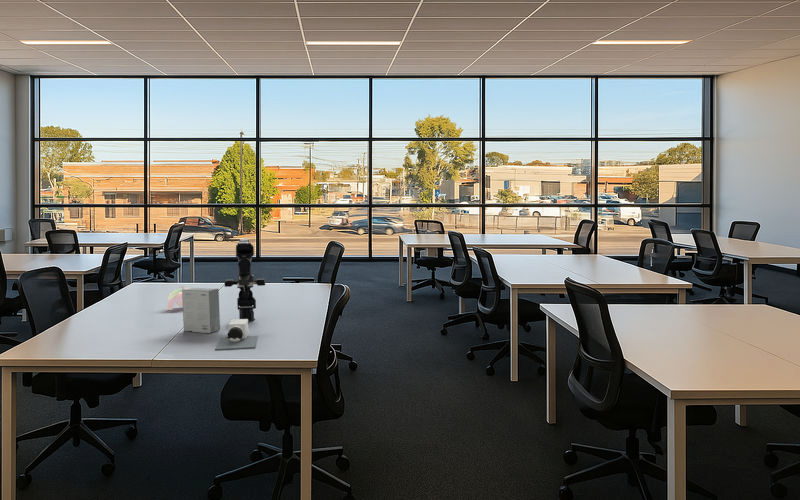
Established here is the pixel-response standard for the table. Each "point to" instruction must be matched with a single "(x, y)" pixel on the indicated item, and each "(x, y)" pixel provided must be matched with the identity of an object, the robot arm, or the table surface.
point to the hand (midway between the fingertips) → (245, 300)
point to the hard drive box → (201, 310)
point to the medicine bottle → (238, 330)
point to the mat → (236, 343)
